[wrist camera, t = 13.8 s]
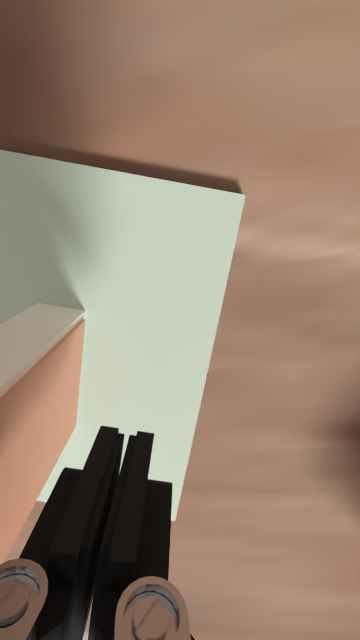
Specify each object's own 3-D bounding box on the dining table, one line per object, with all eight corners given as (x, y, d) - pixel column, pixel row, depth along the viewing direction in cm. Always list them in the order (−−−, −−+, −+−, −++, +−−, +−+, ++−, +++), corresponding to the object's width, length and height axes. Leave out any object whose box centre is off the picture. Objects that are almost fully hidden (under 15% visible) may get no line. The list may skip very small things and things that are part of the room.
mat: (-228, 109, 13) (-247, 104, 13) (243, 195, 14) (245, 194, 14) (-166, 461, 19) (-177, 469, 18) (175, 512, 19) (175, 521, 19)
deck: (38, 302, 15) (-157, 411, 6) (88, 311, 15) (-38, 430, 7) (33, 419, 17) (-124, 624, 8) (77, 426, 17) (-32, 636, 8)
